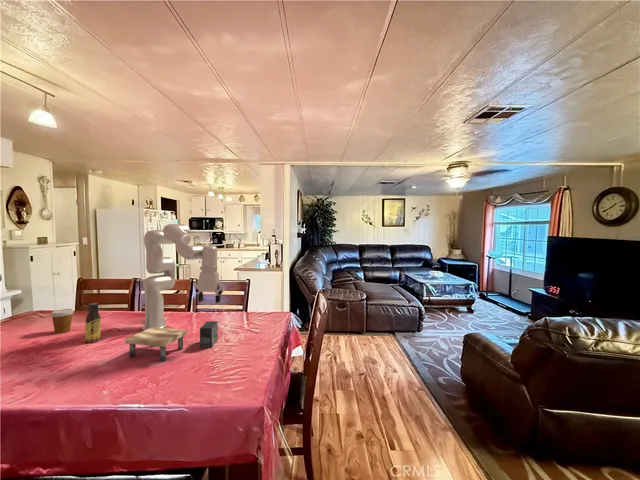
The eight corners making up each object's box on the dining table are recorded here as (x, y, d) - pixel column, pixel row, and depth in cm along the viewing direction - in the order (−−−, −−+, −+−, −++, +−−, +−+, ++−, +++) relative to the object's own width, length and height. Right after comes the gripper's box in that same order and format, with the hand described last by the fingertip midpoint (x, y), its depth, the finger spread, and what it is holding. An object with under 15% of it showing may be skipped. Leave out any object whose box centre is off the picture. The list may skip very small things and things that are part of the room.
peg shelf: (152, 344, 141) (152, 327, 141) (186, 347, 138) (186, 330, 137) (125, 358, 125) (125, 339, 125) (163, 362, 122) (163, 342, 122)
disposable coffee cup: (47, 333, 153) (47, 312, 153) (68, 327, 162) (68, 307, 161) (56, 336, 149) (56, 314, 149) (77, 330, 158) (77, 309, 158)
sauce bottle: (91, 344, 140) (91, 305, 139) (81, 342, 141) (81, 305, 141) (103, 339, 146) (103, 302, 146) (94, 338, 148) (94, 301, 147)
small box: (205, 339, 148) (206, 320, 148) (218, 339, 149) (218, 320, 149) (199, 348, 138) (199, 327, 137) (212, 347, 138) (212, 327, 138)
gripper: (190, 269, 140) (189, 302, 140) (220, 271, 137) (220, 304, 137) (198, 268, 147) (198, 299, 148) (228, 269, 144) (228, 301, 145)
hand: (209, 301), depth 143 cm, fingers open, 9 cm apart
